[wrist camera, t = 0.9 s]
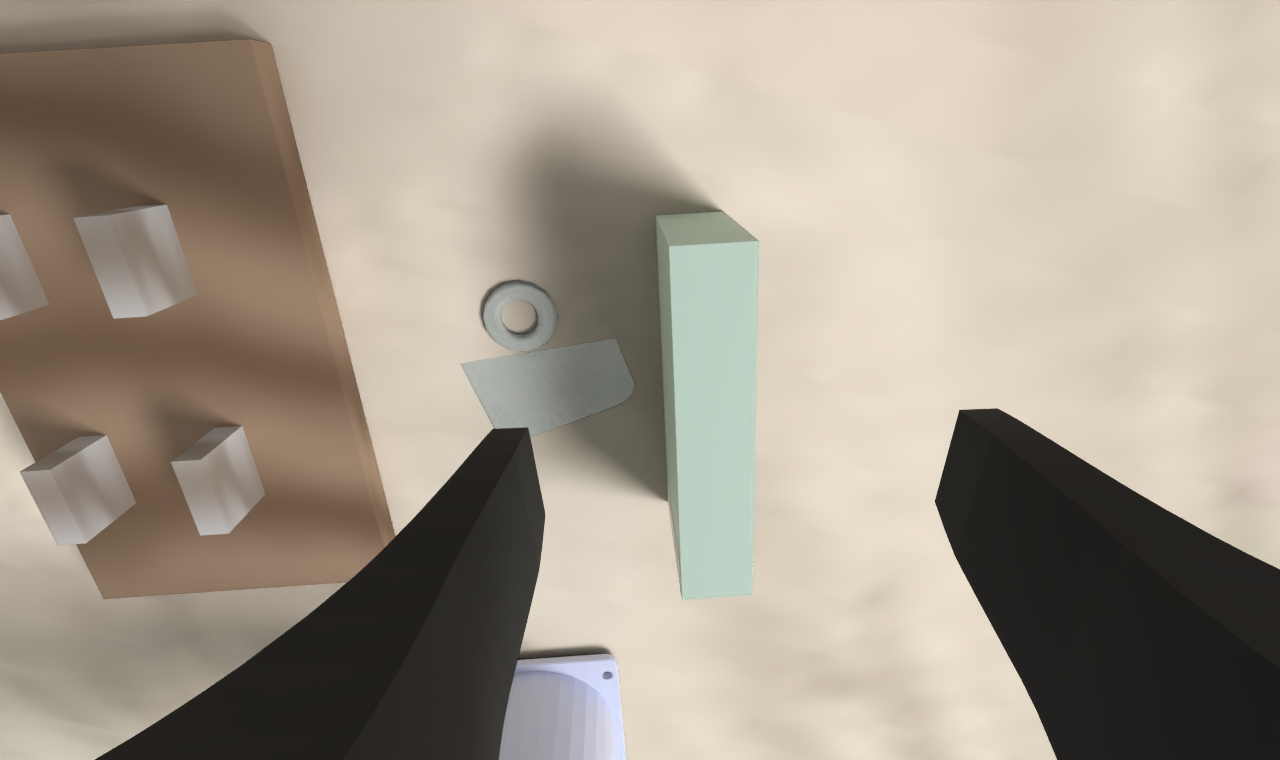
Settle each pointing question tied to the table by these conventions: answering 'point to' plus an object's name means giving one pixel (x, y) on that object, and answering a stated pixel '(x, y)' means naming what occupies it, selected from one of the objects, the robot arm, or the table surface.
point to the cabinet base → (177, 325)
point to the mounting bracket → (544, 369)
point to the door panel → (709, 397)
